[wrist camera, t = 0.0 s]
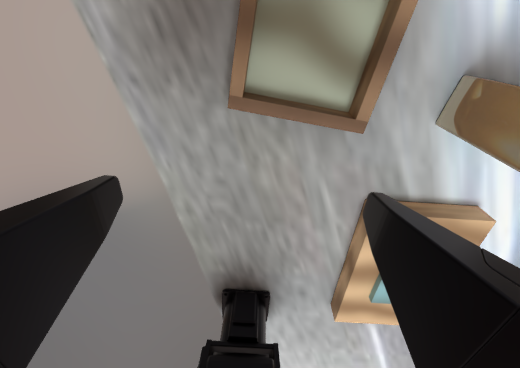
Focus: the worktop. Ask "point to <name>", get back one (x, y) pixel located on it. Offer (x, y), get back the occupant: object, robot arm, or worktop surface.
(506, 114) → the skincare box
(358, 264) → the shallow wooden box
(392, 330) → the worktop surface
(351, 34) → the tray
